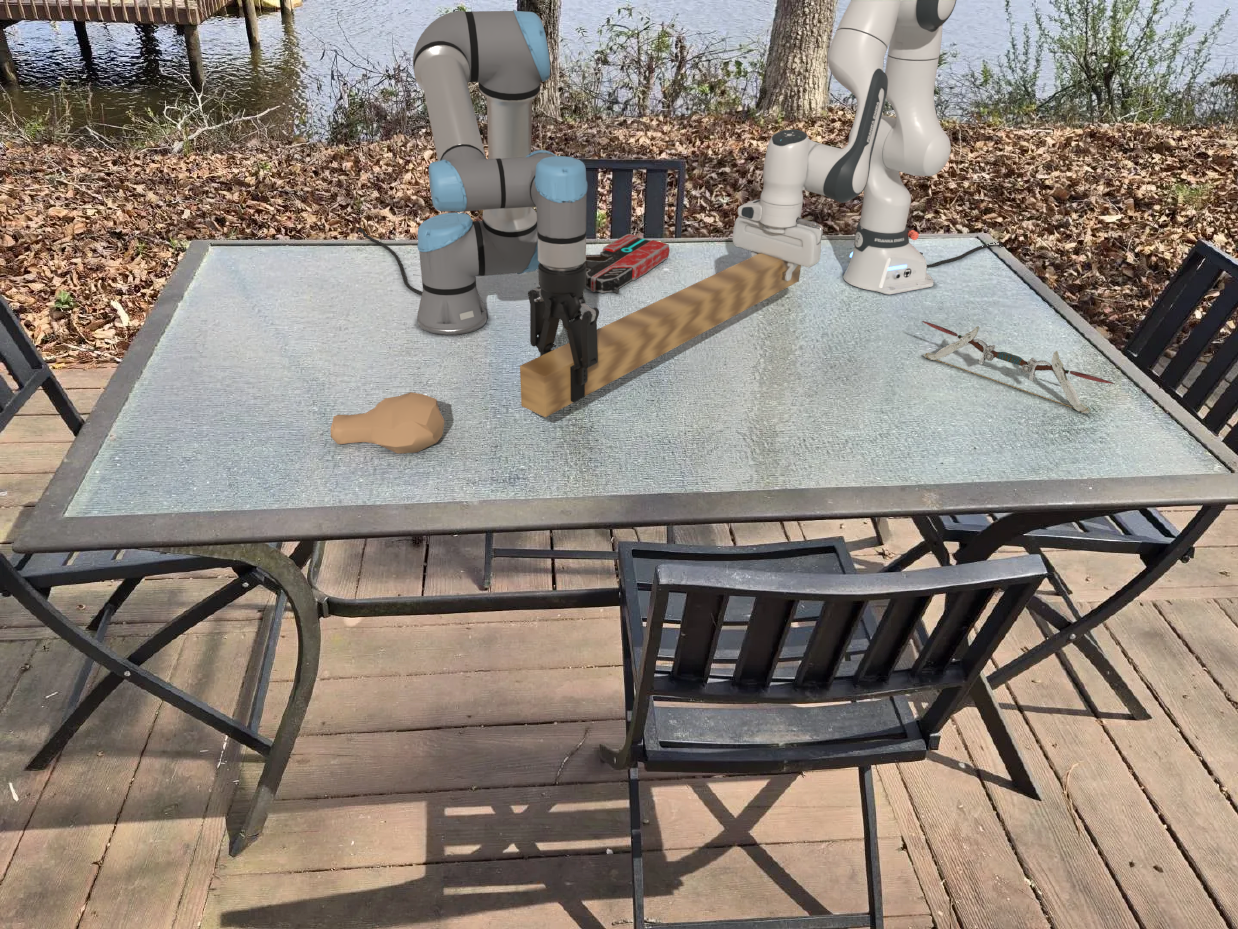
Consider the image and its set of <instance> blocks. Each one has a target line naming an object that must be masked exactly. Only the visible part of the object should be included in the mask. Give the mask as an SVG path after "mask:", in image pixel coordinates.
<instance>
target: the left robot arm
mask: <svg viewBox="0 0 1238 929" xmlns="http://www.w3.org/2000/svg"><path fill="white" fill-rule="evenodd" d="M412 55H413V56H412V69H413V74H414V79H415V81H416V84H417V85H418V87H419V88H420V89H421V90H422V91H423V93H424V98H425V104H426V108H427V114H428V117H429V123H430V124H429V125H430V127H431V128H430V129H431V133H432V139H433V144H434V149H435V153H436V158H437V161H432V162H430V164H429V165H428V179H429V180H428V182H429V190H430V196H431V202H432V206H433V207H434V209H435V210H437V211H438V212H444V213H440V214H437V215H434V216H431V217H429V218H427V219H426V220H424V221H423V222H421V224H419V226H418V227H417V228H418V229H417V247H416V248H417V251H418V252H419V253H418V254H419V263H420V275H421V284H422V291H421V290H419V289H416V288H415V287H413V286H411V285H410V284H409V282H408V279H407V276H406V273H405V270H404V267H403V264H402V261H401V260H400V258H399V256H398V255H397V253H396V252H395V251H394V250H393V249H392V248H391V247H389V246H388V245H386V244H385V243H384V242H382V241H380V240H378V239H375V238H374V237H372V236H370V235H369V234H367V232H365V230H364V229H363V228H362V227H359V228H358V230H357V233H361V234H362V235H363V237H365V238H366V239H367V240H369V241H370V242H373V243H375V244H377V245H379V246H381V247H383V248H384V249H385V250H387V251H388V252H389V253H390V254H391V255H392V256H393V257H394V259H395V261H396V263H397V265H398V267H399V271H400V274H401V277H402V281H403V283H404V286H405V287H406V289H408V290H410V291H411V292H413V293H415V294H418V295H420V296H421V297H420V302H419V305H418V310H417V317H416V318H417V325H418V326H419V328H420V329H421V330H423V331H424V332H427V333H430V334H433V335H440V336H459V335H465V334H469V333H473V332H476V331H477V330H480V329H481V328H483V327H484V326H485V325H486V323H487V320H488V316H487V310H486V306H485V304H484V302H483V299H482V298H481V295H480V293H479V291H478V288H477V278H476V277H487V276H499V275H512V274H513V275H514V274H517V275H522V274H525V273H534V272H536V271H537V273H538V274H537V275H538V287H535V288H533V289H530V290H528V291H527V297H528V301H529V336H530V337H529V343H530V345H531V346H532V347H536V348H537V350H538V352H539V357H540V356H542V355H544V354H546V353H548V352H550V351H552V350H555V349H554V348H556V347H557V345H556V344H555V340H556V336H557V333H558V329H559V325H560V321H561V323H562V327H563V328H564V329H565V330H566V335H567V339H568V343H569V344H570V348H571V353H572V357H573V361H574V365H573V366H571V367H570V378H571V402H573V403H576V402H578V401H580V400H582V399H584V398H585V397H586V396H585V383H586V382H587V371H588V368H589V367H591V366H593V365H594V364H596V363H597V362H598V350H597V329H598V319H599V315H600V310H599V308H598V307H593V308H591V307H590V306H589V305H588V304H587V303H586V302H587V301H586V299H585V296H584V291H585V288H586V264H585V263H584V262H585V261H586V255H587V192H588V188H589V187H588V186H589V185H588V184H589V183H588V181H587V169H586V164H585V163H584V162H583V160H580V159H578V158H575V157H572V156H564V155H556V154H555V153H554V152H552V151H549V150H545V149H539V150H534V151H532V130H533V128H532V127H533V126H532V124H533V123H532V122H533V119H532V117H533V100H534V99H535V98H536V97H538V95H540V92H541V82H543V83H545V82H546V81H548V80H549V79H550V77H551V76H550V75H551V60H550V53H549V46H548V41H547V36H546V31H545V28H544V24H543V22H542V19H541V17H539V15H538V14H537V13H536V12H533V11H522V10H521V11H520V10H519V11H518V10H516V9H513V10H482V11H481V10H478V11H477V10H474V11H465V10H456V11H451V12H448V13H445V14H443V15H441V16H439V17H438V18H436V19H435V20H433V21H432V22H431V23H430V24H429V25H428V26H427V27H426V28H424V30H423V32H422V33H421V35H420V36H419V38H418V39H417V42H416V44H415V47H414V50H413V54H412ZM468 83H478V85H477V86H478V90H479V92H480V93H481V94H482V95H483V96H484V97H485V98H486V110H487V111H486V113H487V114H486V115H487V152H488V153H487V154H488V155H487V156H488V157H486V153H485V148H484V145H483V141H482V136H481V133H480V132H481V131H480V129H479V125H478V121H477V116H476V112H475V109H474V104H473V101H472V97H471V93H470V92H471V91H470V89H469V85H468ZM534 208H535V209H536V210H535V209H534ZM472 211H482V220H473V218H472V217H471V216H470V215H469V214H468V213H464V212H472ZM445 212H446V213H445ZM379 241H380V242H379ZM581 358H582V359H581Z"/></svg>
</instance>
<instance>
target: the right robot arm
mask: <svg viewBox="0 0 1238 929" xmlns="http://www.w3.org/2000/svg"><path fill="white" fill-rule="evenodd" d="M956 4H957V0H850V2H849V3H848V5H847V8H846V9H845V11H844V13H843V15H842V17H841V19H840V21H839V23H838V26H837V28H836V31H835V33H834V35H833V38H832V40H831V43H830V46H829V48H828V54H827V64H828V68H829V71H830V73H831V75H832V76H833V77H834V79H835V80H836V82H838V83H839V84H840V85H841V86H842V87H843V88H844V89H846V90H847V91H849V92H850V93H851V94H852V95H854V97H855V99H856V112H855V115H854V120H853V123H852V127H851V129H850V132H849V135H848V142H847V145H845V147H844V148H841V147H836V146H831V145H828V144H824V143H821V142H816V141H814V140H812V139H810V138H809V136H808V134H807V133H806V132H805V131H804V130H800V129H793V128H792V129H783V130H779V131H778V132H776V133H774V134H773V135H772V136H771V137H770V139H769V141H768V145H767V148H766V151H765V156H764V162H763V170H762V182H763V186H762V190H761V193H760V196H759V199H753V200H751V201H748V202H745V203H744V204H740V206H738V208H737V215H738V217H737V218H736V219H735V221H734V225H733V231H732V244H733V245H734V246H735V247H736V248H739V249H743V250H746V251H750V258H751V257H753V256H755V255H757V254H759V253H762V254H765V255H768V256H772V257H775V258H779V259H782V260H784V261H787V262H788V266H789V269H788V270H786V271H784V272H782V280H785V281H789V280H791V277H792V272H793V271H794V270H795V268H796V267H797V266H798V265H801V267H805V268H808V269H809V268H812V267H814V266H815V265H817V264H818V263H819V262H820V261H821V254H822V240H823V234H824V231H823V229H822V227H821V226H820V225H819V223H818V222H816V221H811V220H809V219H805V218H801V217H802V211H803V210H802V209H803V204H804V203H803V202H804V195H803V194H804V193H803V192H804V191H807V192H810V193H813V194H817V195H821V196H824V197H826V198H828V199H831V200H833V201H835V202H838V203H840V204H844V203H848V202H850V201H851V200H853V199H855V198H857V197H858V196H860V195H861V194H862V193H863V198H862V206H861V213H860V219H859V222H858V223H857V226H856V231H855V235H854V243H853V250H852V252H851V253H850V254H849V258H850V259H849V263H848V265H847V267H846V270H845V272H844V274H843V276H842V278H843V280H844V281H845V282H846V283H847V284H849V285H851V286H853V287H855V288H859V289H862V290H866V291H872V292H878V293H879V294H884V295H895V294H900V293H906V292H911V291H916V290H917V291H918V290H922V289H927V288H932V287H934V279H933V278H932V276H931V275H929V274H928V272H927V269H928V268H934V267H937V266H940V265H945V264H948V263H952V262H956V261H958V260H959V261H960V260H962V259H964V258H965V257H967V256H969V255H971V254H973V253H975V252H978V251H980V250H983V249H987V248H990V247H991V248H992V247H993V246H995V245H989V243H990V244H993V242H994V243H995V242H997V243H999V245H997V246H998V247H999V246H1001V247H1003V248H1004V245H1003V243H1001V242H999V241H993V242H989V243H987V245H988V246H987V245H986V244H983V245H979V246H977V247H974V248H972V249H970V250H968V251H966V252H964V253H962V254H961V255H958V256H954V257H951V258H947V259H943V260H939V261H937V262H934V263H929V264H928V263H927V260H926V257H925V256H924V253H923V252H921V251H919V250H918V249H917V248H916V247H915V246H914V245H912V243H911V242H910V239H911V240H912V241H917V239H919V237H920V234H919V232H918V231H916V230H915V229H910V228H909V227H907V222H908V219H909V214H910V209H911V203H912V196H911V193H910V191H909V190H908V188H907V187H906V185H905V184H904V183H903V180H902V178H901V175H900V173H902V174H906V175H910V176H915V177H933V176H936V175H937V174H939V173H940V172H941V171H942V170H943V169H944V168H945V166H946V165H947V163H948V161H949V159H950V156H951V150H952V146H951V145H952V144H951V140H950V138H949V136H948V134H947V133H946V132H945V131H944V129H943V127H942V125H941V124H940V121H939V119H938V115H937V111H936V106H935V87H936V86H935V85H936V78H937V72H938V65H939V61H940V55H941V48H942V39H943V25H944V24H945V23H946V22H947V21H948V20H949V18H950V17H951V15H952V14H953V12H954V11H955V10H954V9H955V8H956ZM886 53H887V55H886ZM885 56H886V62H885V70H884V61H885ZM886 101H888V103H889V104H890V106H891V107H892V109H893V112H894V115H895V117H892V116H888V115H884V114H883V112H884V108H885V104H886ZM995 244H996V243H995ZM982 246H983V247H982ZM1001 247H1000V248H1001Z"/></svg>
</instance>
